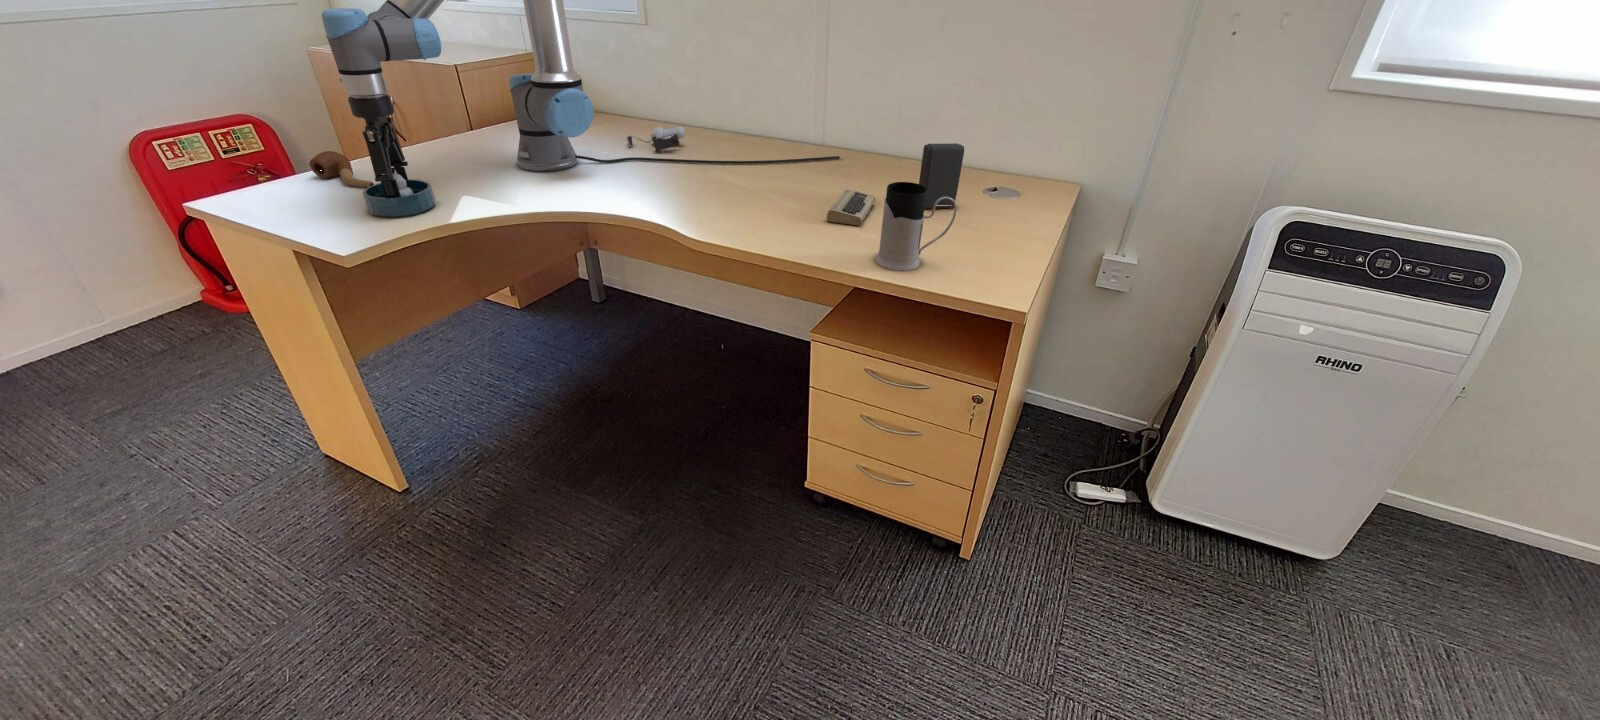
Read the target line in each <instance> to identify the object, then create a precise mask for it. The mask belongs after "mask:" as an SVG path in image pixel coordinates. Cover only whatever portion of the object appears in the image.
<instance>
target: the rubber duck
mask: <svg viewBox="0 0 1600 720" xmlns="http://www.w3.org/2000/svg"><path fill="white" fill-rule="evenodd" d="M393 177H394V179H396V182H397V185H398V189H399V192H400V195H401V197H402V196H408V195H412V194H413V191H412V190H411V189H410V188H408V187H406V186H407V184H406V180H405V179H403V177H402V176H401V175H399V174H397V173H396V170H395V171H394V174H393Z"/></svg>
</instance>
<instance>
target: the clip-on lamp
mask: <svg viewBox="0 0 1600 720" xmlns="http://www.w3.org/2000/svg"><path fill="white" fill-rule="evenodd" d="M685 136H686V131H685V129H684V127H682V126H676V127H671V128H663V127H658V126H657V127H655V128H653V129H652V132H651V134H650V140H648V141H647V140H644V139H642V138H640V137H638V136H635V135H633V134H628V135H627V136H626V142H627V144H628V146H629V148H630V147H631V148H632V147H633V138H634V139H637V140H638V141H641V142H643V143H646V144H649V143H651V142H652V143H653V146H654V149H655V153H656V154H660V153H661V152H662V150H665V149H669V148H674V147H679V146H680V144H683V142H682V140H680V139H684V138H685Z"/></svg>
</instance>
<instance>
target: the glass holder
mask: <svg viewBox="0 0 1600 720" xmlns="http://www.w3.org/2000/svg"><path fill="white" fill-rule="evenodd" d="M885 193H886V194H885V197H884V202H883V203H884V204H883V214H882V221H881V230H880V231H881V232H880V240H879V250H878V254H877V256H876V257H875V261H876V263H877V265H879V266H880V267H883V268H884V269H887V270H891V271H900V272H903V271H904V272H905V271H912V270H915V269H917V268H918V267H919V266H920V259H919V256H920V255H921V252H922V251H924V249H926V248H928V247H929V246H931V245H932V244H933V243H936V242H937V241H938V240H940V239H941V238H942V237H944V236H945V235H946V234H947V232H948V231H949V230H950V228H951V226H952V225H953V224H954V221H955V219H956V215H957V207H958V206H957V202H956V200H955V201H954V200H953V199H952V198H950V197H941V198H939V199H938V200H937V201H936V202H935V204H934V206H933V209H931V214H929V215H924V213H925V209H924V208H925V201H926V194H927V188H926V187H924V186H922V185H920V184H919V183H916V182H912V181H911V182H910V181H895V182H891V183H889V184H887V186H886V192H885ZM943 199H949V200H951V201H952V202H953V203H954V211H953V214H952V218H951V219H950V221H949V222H950V223H949V224H948V226H947V227H946V228H945V229H944V230H943V232H942V233H940V234H939V235H938V236H936V237H934V238H933V239H932V240H930V241H928V242H927V243H925V244H924V245H923V246H922V247H921V243H922V235H923V234H922V233H923V229H924V219H931V218H933V216H934V214H935V211H936V209H935V207H936V205H937V203H938V202H939V201H941V200H943Z"/></svg>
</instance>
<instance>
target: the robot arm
mask: <svg viewBox="0 0 1600 720" xmlns="http://www.w3.org/2000/svg"><path fill="white" fill-rule="evenodd" d="M444 1H445V0H385V2H384V3H383V4H382V5H380V7H378V8H379V9H377V10H375V11H372V12H369V13H368V14H366V12H365V11H364V10H363V9H360V8H345V7H343V8H329V9H324V10H323V11H322V12H321V20H322V23H323V28H324V31H325V32H324V33H325V38H326V39H327V42H328V45H329V47H330V51H331V54H332V56H333V59H334V62H335V64H336V68H337V70H338V71H337V72H338V74H339V77H338V82H339V83H342V85H343V89H344V92H345V94H346V95H348V98H347V102H348V105H349V108H350V111H351V114H352V115H353V117H355V118H359V119H361V118H362V119H364V120H365V126H364V129H365V130H362V136H363V138H364V141H365V144H366V147H367V151H368V154H369V158H370V162H371V166H372V169H373V173H374V176H375V178H374V181H375V182H379V183H381V184H382V187H383V190H384V193H385V196H386V198H393V197H401V195H400V192H399V189H398V185H397V182H396V179H394V177H393V174H394V171H395V170H396V173H397V174H399V175H401V176H402V177H403V179H405V180H406V184H407V186H406V187H408V188H410V184H409V181H408V179H409V178H408V175H407V171H406V168H405V167H408V166H409V163H408V161H407V160H406V157H405V155H404V152H403V149H402V146H401V143H400V141H399V139H398V138H399V137H398V135H397V133H396V130H395V127H394V122H393V118H392V117H391V116H392V115H394V113H395V109H394V106H393V102H392V99H391V96H390V95H389V94H388V93H389V88H388V85H387V82H386V77H385V75H384V72H383V69H382V64H381V62H392V61H412V60H413V61H414V60H424V61H426V60H429V59H435V58H438V57H440V56H441V53H442V43H441V38H440V35H439V32H438V29H437V28H436V25H435V23H433V21H431V20H430V18H431V17H432V16H433V14H434V13H435V12H436V11H437V10H438V9H439V7H440V6H442V4H443V3H444ZM522 1H523V7H524V12H525V13H524V14H525V18H526V24H527V29H528V35H529V41H530V45H531V50H532V57H533V61H534V62H533V63H534V69H535V71H534V72H528V73H520V74H513V75H511V76H510V78H509V92H510V95H511V99H512V104H513V108H514V114H515V119H516V124H517V128H518V132H519V141H518V149H517V157H516V159H517V165H518V167H519V168H520V169H522V170H525V171H531V172H556V171H562V170H567V169H569V168H572V167H574V166H576V165H577V164H578V159H579V160H587V161H592V162H596V163H603V164H604V163H605V164H608V163H609V164H611V163H618V162H619V163H620V162H625V161H649V162H666V163H667V162H670V163H674V162H675V163H689V164H691V163H693V164H722V165H723V164H729V165H730V164H731V165H733V164H734V165H735V164H736V165H737V164H739V165H740V164H741V165H742V164H743V165H744V164H745V165H746V164H747V165H748V164H750V165H751V164H753V165H754V164H778V163H779V164H780V163H782V164H783V163H795V162H796V163H797V162H810V161H827V160H839V159H840V158H841V155H834V156H821V157H806V158H792V159H770V160H769V159H768V160H766V159H765V160H708V159H707V160H706V159H705V160H703V159H678V158H657V157H640V156H639V157H637V156H636V157H635V156H634V157H633V156H632V157H631V156H630V157H622V158H614V159H599V158H594V157H591V156H582V155H577V153H576V152H575V149H574V147H573V145H572V143H571V141H570V139H572V138H573V139H574V138H577V137H579V136H582V135H584V134H585V133H586V132H587V131H588V130H589V128H590V127H591V125H592V123H593V120H594V116H595V112H594V111H595V109H594V105H593V102H592V99H591V98H590V97H589V96H588V95H587V94H586V93H585V92H584V87H583V79H582V75H580V74H579V73H578V72H577V71H576V69H574V64H573V57H572V51H571V44H570V37H569V32H568V24H567V19H566V18H567V17H566V13H565V6H564V0H522ZM410 189H411V188H410Z"/></svg>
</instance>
